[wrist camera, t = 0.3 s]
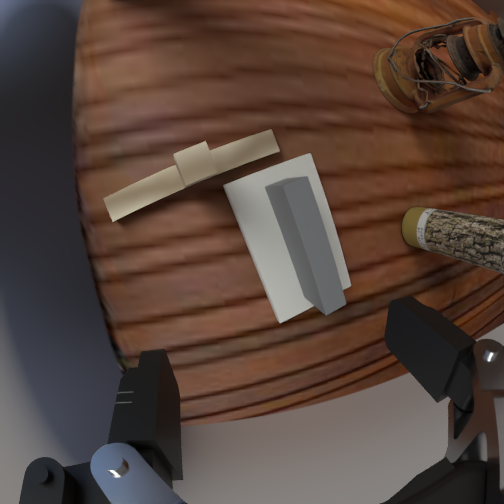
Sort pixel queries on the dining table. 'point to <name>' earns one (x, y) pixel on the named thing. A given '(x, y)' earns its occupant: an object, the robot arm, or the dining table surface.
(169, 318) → the dining table surface
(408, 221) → the bark print canister
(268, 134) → the birch T-bar
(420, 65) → the lantern
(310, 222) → the ridge stand
